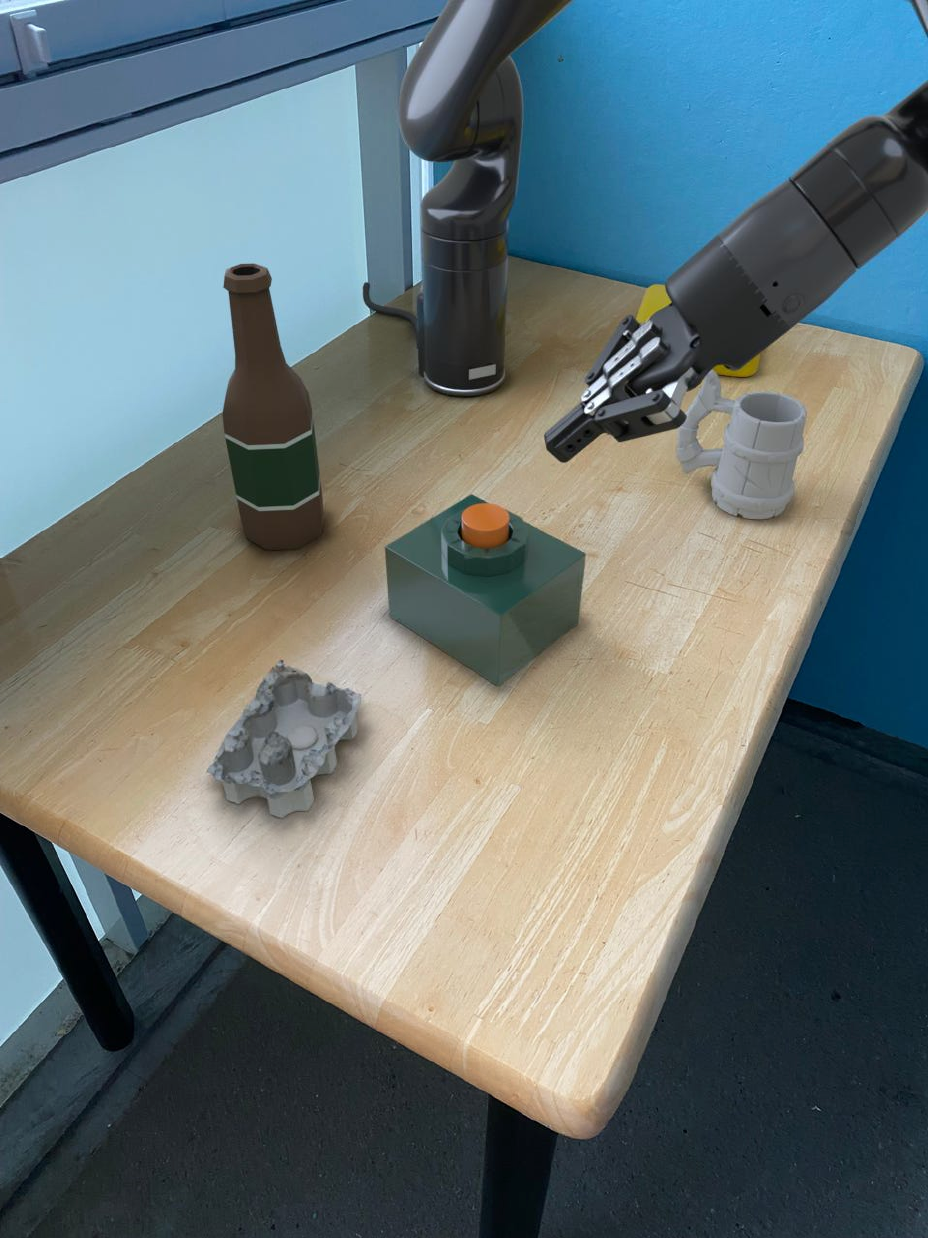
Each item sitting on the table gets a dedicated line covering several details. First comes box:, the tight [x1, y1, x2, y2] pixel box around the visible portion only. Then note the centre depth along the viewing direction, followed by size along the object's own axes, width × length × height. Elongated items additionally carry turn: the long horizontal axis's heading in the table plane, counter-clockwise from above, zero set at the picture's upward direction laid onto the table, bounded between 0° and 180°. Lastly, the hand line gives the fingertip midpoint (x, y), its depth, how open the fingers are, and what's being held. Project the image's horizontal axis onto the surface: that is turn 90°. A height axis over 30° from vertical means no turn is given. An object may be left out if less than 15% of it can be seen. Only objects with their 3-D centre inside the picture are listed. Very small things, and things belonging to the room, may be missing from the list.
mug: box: [675, 369, 808, 520], centre depth 87 cm, size 8×12×12 cm, turn 62°
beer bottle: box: [221, 263, 324, 551], centre depth 78 cm, size 8×8×24 cm
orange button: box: [462, 502, 510, 548], centre depth 70 cm, size 4×4×2 cm
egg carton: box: [205, 659, 362, 819], centre depth 64 cm, size 11×8×4 cm
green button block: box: [384, 493, 587, 687], centre depth 74 cm, size 12×10×9 cm
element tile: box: [635, 283, 762, 378], centre depth 113 cm, size 15×15×5 cm
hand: (552, 450), depth 66 cm, fingers closed
